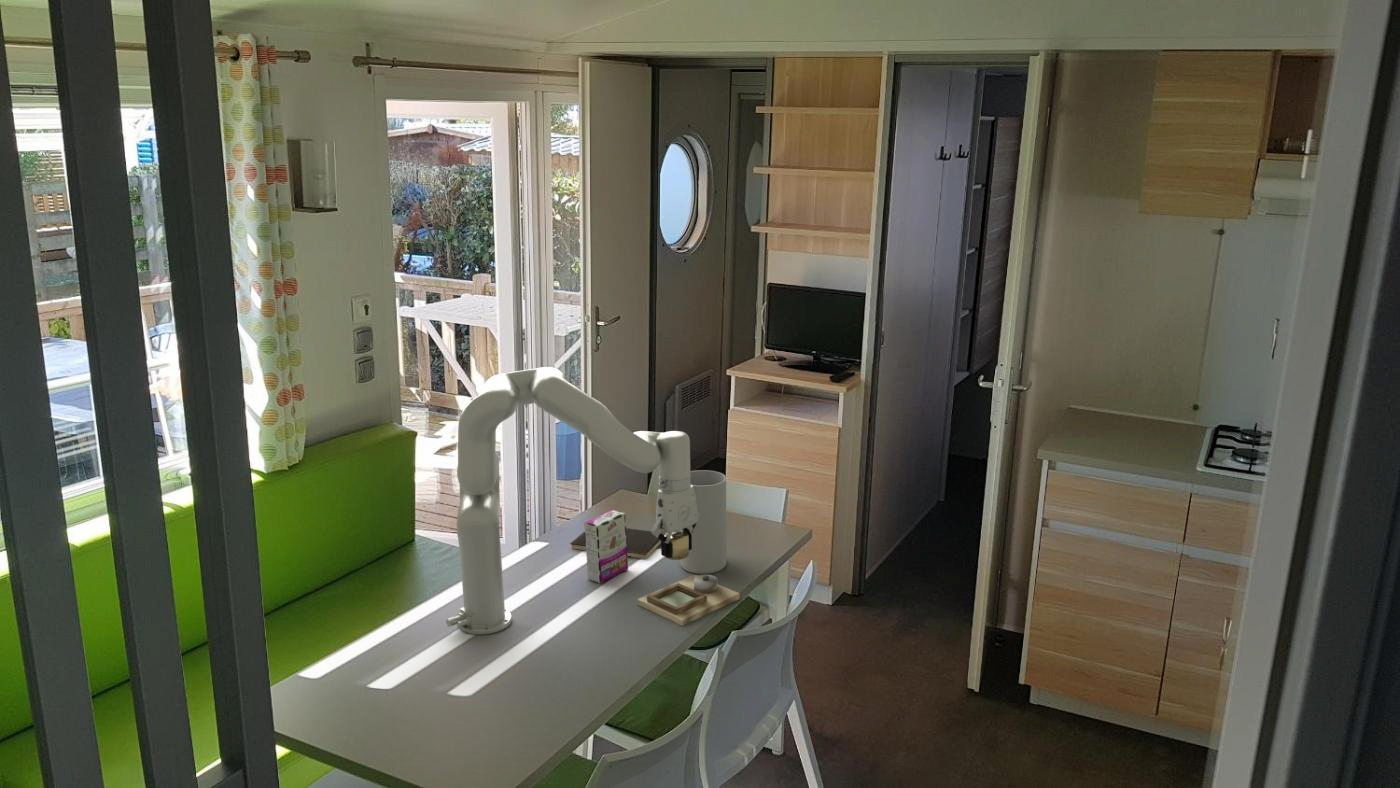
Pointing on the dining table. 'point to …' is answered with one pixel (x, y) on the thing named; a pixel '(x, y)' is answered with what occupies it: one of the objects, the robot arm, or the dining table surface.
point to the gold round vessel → (679, 545)
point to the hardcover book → (629, 543)
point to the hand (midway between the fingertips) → (676, 551)
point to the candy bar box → (606, 546)
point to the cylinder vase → (708, 524)
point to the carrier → (689, 599)
